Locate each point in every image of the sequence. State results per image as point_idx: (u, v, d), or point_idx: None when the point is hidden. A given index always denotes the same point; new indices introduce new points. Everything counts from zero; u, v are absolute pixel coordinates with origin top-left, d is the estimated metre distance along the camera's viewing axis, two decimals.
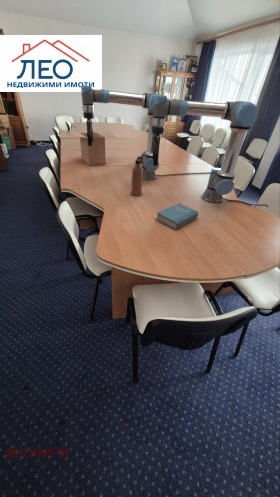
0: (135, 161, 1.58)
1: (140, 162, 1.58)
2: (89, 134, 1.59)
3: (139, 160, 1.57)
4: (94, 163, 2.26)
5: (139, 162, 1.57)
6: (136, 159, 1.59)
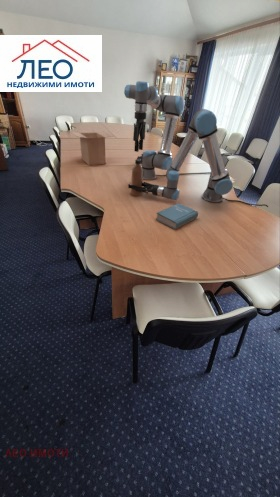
0: (135, 161, 1.58)
1: (140, 162, 1.58)
2: (135, 139, 1.44)
3: (139, 160, 1.57)
4: (94, 163, 2.26)
5: (139, 162, 1.57)
6: (136, 159, 1.59)
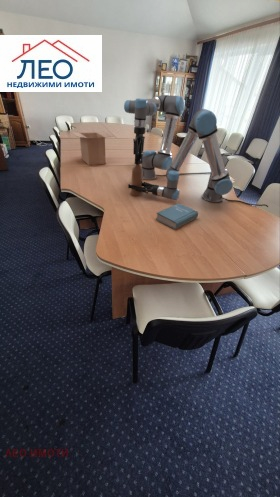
0: None
1: (140, 162, 1.58)
2: (135, 153, 1.50)
3: (139, 160, 1.57)
4: (94, 163, 2.26)
5: (139, 162, 1.57)
6: None
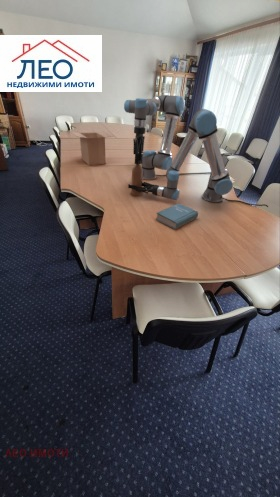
0: (139, 162, 1.57)
1: None
2: (135, 152, 1.50)
3: (139, 159, 1.59)
4: (94, 163, 2.26)
5: None
6: None
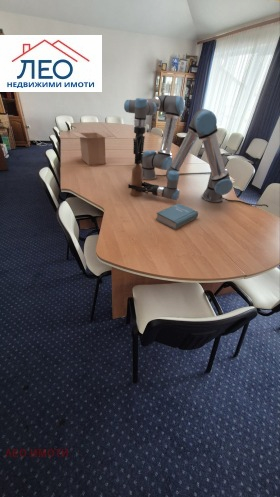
0: None
1: None
2: (135, 152, 1.50)
3: None
4: (94, 163, 2.26)
5: None
6: (139, 160, 1.57)
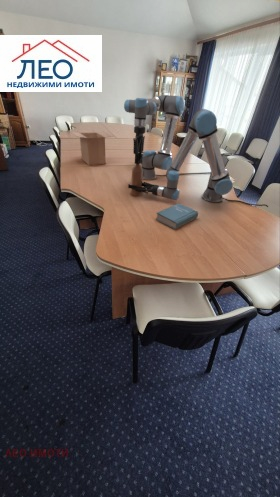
0: None
1: None
2: (135, 152, 1.50)
3: None
4: (94, 163, 2.26)
5: None
6: (139, 159, 1.59)
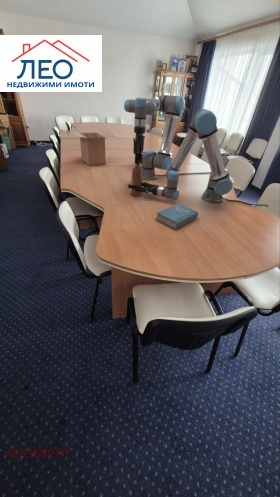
0: None
1: (140, 161, 1.58)
2: (135, 152, 1.50)
3: (139, 159, 1.57)
4: (94, 163, 2.26)
5: (139, 161, 1.57)
6: None
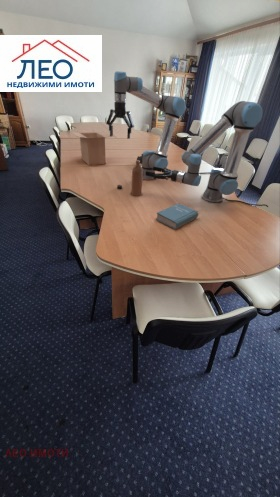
0: (120, 187, 1.78)
1: None
2: (133, 125, 1.50)
3: (120, 185, 1.79)
4: (94, 163, 2.26)
5: None
6: (118, 186, 1.77)
